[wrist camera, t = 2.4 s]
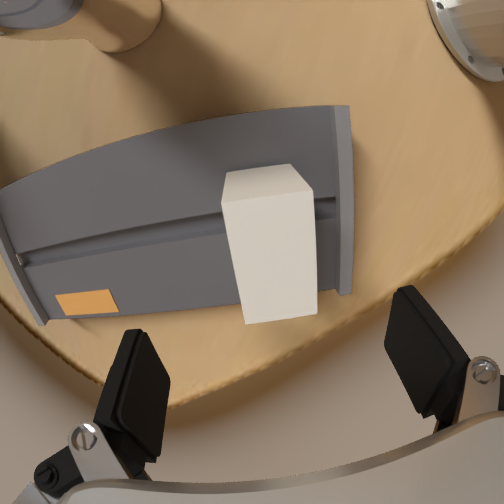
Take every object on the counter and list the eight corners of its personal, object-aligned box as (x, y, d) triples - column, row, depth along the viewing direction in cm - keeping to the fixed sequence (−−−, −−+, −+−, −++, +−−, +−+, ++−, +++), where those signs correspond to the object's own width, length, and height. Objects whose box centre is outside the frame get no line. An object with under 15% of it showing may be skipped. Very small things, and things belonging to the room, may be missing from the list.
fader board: (329, 105, 19) (349, 105, 15) (337, 267, 25) (351, 293, 22) (6, 185, 19) (-20, 200, 16) (54, 302, 26) (39, 325, 23)
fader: (286, 160, 18) (312, 190, 12) (295, 251, 22) (317, 313, 15) (227, 168, 19) (220, 203, 12) (243, 259, 22) (245, 324, 16)
